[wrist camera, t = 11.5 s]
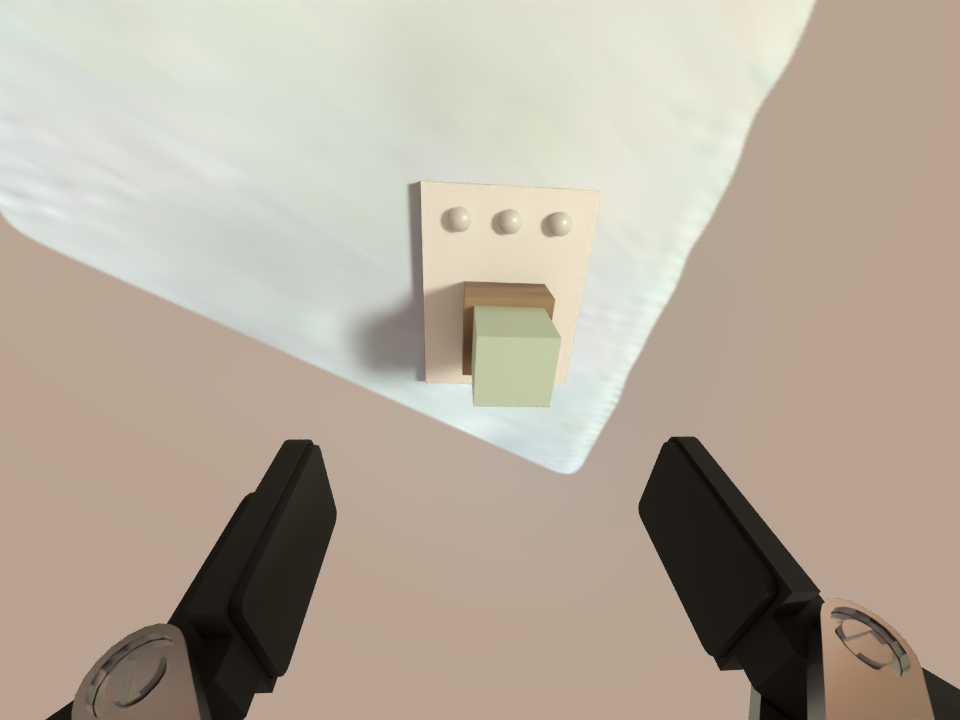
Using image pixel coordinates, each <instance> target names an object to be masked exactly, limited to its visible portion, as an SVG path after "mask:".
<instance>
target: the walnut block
mask: <svg viewBox="0 0 960 720" xmlns="http://www.w3.org/2000/svg"><path fill="white" fill-rule="evenodd" d="M554 305H555V298H554V297H553V295H552V294H551V293H550V291H549V290H548V288H547V287H546V285H545V284H530V283H502V282H474V281H464V307H463V340H462V375H472V371H471V363H472V341H473V318H474V306H499V307H531V308H545V310H546V312H547V313H548V315H549V317H550V319H551V321H552V317H553V311H554Z"/></svg>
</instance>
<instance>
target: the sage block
mask: <svg viewBox="0 0 960 720" xmlns="http://www.w3.org/2000/svg"><path fill="white" fill-rule="evenodd" d="M561 339H562V338H561V336H560V335H559V333H558V331H557V329H556V328H555V326H554V324H553V322H552V321H551V319H550V317H549V315H548V313H547V312H546V310H545V308H531V307H499V306H474V318H473V341H472V363H471V371H472V390H473V406H494V407H550V401H551V395H552V390H553V384H554V379H555V373H556V367H557V362H558V356H559V351H560V345H561Z"/></svg>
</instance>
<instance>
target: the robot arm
mask: <svg viewBox="0 0 960 720" xmlns="http://www.w3.org/2000/svg"><path fill="white" fill-rule="evenodd" d="M638 508H639V515H640V517H641V519H642V522H643V524H644V526H645V528H646V530H647V532H648V534H649V536H650V538H651V540H652V542H653V544H654V546H655V548H656V551H657V553H658V555H659V557H660V559H661V561H662V563H663V565H664V567H665V569H666V571H667V573H668V575H669V577H670V579H671V581H672V584H673V586H674V587H675V590H676V592H677V594H678V596H679V598H680V600H681V602H682V604H683V606H684V609H685V611H686V613H687V615H688V617H689V619H690V621H691V623H692V625H693V627H694V629H695V631H696V633H697V635H698V637H699V640H700V642H701V644H702V646H703V647H704V649H705V651H706V652H707V653H708V654H709V655H710V656H713V657H714V659H715V661H716V663H717V665H718V667H719V669H720V670H721V671H722V670H742V669H744V671H745V673H746V675H747V677H748V679H749V681H750V682H751V695H750V707H749V720H960V690H959V689H958V688H956V687H954V686H953V685H951V684H949V683H948V682H946V681H944V680H942V679H941V678H939V677H937V676H936V675H934V674H932V673H931V672H929V671H927V670H925V669H924V668H922V667H921V665H920V663H919V661H918V658H917V656H916V654H915V653H914V651H913V650H912V648H911V647H910V646H909V644H908V643H907V642H906V640H905V639H904V638H903V637H902V636H901V635H900V634H899V633H898V632H897V631H896V630H895V629H894V628H893V627H892V626H891V625H890V624H888V623H887V622H886V621H885V620H883V619H882V618H881V617H879V616H878V615H876V614H875V613H873V612H872V611H870V610H868V609H867V608H865V607H863V606H861V605H859V604H856V603H854V602H851V601H848V600H843V599H838V598H836V599H829V600H827V601H826V602H824V600H823V599H822V598H821V597H820V595H819V593H820V590H819V589H818V588H817V586H816V585H815V584H814V583H813V581H812V580H811V579H810V578H809V576H808V575H807V574H806V573H805V571H804V570H803V569H802V568H801V567H800V565H799V564H798V563H797V562H796V560H795V559H794V558H793V557H792V555H791V554H790V553H789V552H788V550H787V549H786V548H785V547H784V546H783V544H782V543H781V542H780V541H779V539H778V538H777V537H776V535H775V534H774V533H773V532H772V531H771V529H770V528H769V527H768V526H767V524H766V523H765V522H764V521H763V519H762V518H761V517H760V516H759V514H758V513H757V512H756V511H755V509H754V508H753V507H752V506H751V504H750V503H749V502H748V501H747V500H746V498H745V497H744V496H743V495H742V493H741V492H740V491H739V490H738V488H737V487H736V486H735V485H734V483H733V482H732V481H731V480H730V478H729V477H728V476H727V475H726V473H725V472H724V471H723V470H722V468H721V467H720V466H719V465H718V463H717V462H716V461H715V460H714V459H713V457H712V456H711V455H710V454H709V452H708V451H707V450H706V449H705V447H704V446H703V445H702V444H701V442H700V441H699V440H698V439H697V438H695V437H671V438H670V439H669V440H668V442H665V443H664V444H663V446H662V448H661V451H660V453H659V455H658V458H657V460H656V463H655V465H654V468H653V470H652V473H651V475H650V478H649V480H648V483H647V485H646V487H645V490H644V492H643V495H642V497H641V500H640V502H639V507H638ZM336 513H337V511H336V506H335V503H334V499H333V495H332V491H331V488H330V484H329V480H328V477H327V472H326V469H325V465H324V461H323V457H322V453H321V450H320V447H319V446H318V445H314V444H313V442H312V441H311V440H286V441H285V442H284V443H283V445H282V447H281V448H280V450H279V452H278V453H277V455H276V457H275V458H274V460H273V462H272V464H271V465H270V467H269V469H268V470H267V472H266V474H265V475H264V477H263V479H262V481H261V483H260V484H259V486H258V487H257V489H256V491H255V492H253V493H250V494H248V495H247V496H245V498H244V499H243V500H242V502H241V503H240V505H239V506H238V508H237V509H236V511H235V513H234V514H233V516H232V518H231V520H230V521H229V523H228V525H227V526H226V528H225V529H224V531H223V532H222V534H221V536H220V537H219V539H218V541H217V542H216V544H215V546H214V547H213V549H212V551H211V552H210V554H209V556H208V557H207V559H206V560H205V562H204V564H203V565H202V567H201V569H200V570H199V572H198V574H197V575H196V577H195V579H194V580H193V582H192V583H191V585H190V587H189V588H188V590H187V592H186V593H185V595H184V597H183V598H182V600H181V602H180V603H179V605H178V607H177V608H176V610H175V611H174V613H173V615H172V617H171V618H170V620H169V621H168V623H167V624H160V623H159V624H155V625H151V626H147V627H144V628H142V629H140V630H138V631H136V632H134V633H132V634H130V635H128V636H127V637H125V638H124V639H122V640H121V641H119V642H118V643H117V644H115V645H114V646H112V647H111V648H110V649H109V650H108V651H107V652H106V653H105V654H104V655H103V656H102V657H101V658H100V659H99V660H98V661H97V662H96V663H95V664H94V666H93V667H92V668H91V670H90V671H89V672H88V673H87V675H86V676H85V677H84V679H83V681H82V683H81V685H80V687H79V689H78V691H77V693H76V695H75V698H74V700H73V701H72V702H70V703H69V704H68V705H66V706H65V707H63V708H62V709H61V710H59V711H57V712H56V713H55V714H53V715H52V716H50V717H49V718H47V719H46V720H244V718H245V717H246V716H247V713H248V710H249V707H250V705H251V702H252V699H253V697H254V694H255V693H272V692H273V689H274V686H275V683H276V680H277V677H281V676H283V675H284V674H285V673H286V671H287V669H288V666H289V664H290V660H291V658H292V655H293V651H294V649H295V645H296V642H297V639H298V636H299V633H300V630H301V627H302V624H303V621H304V618H305V615H306V612H307V608H308V606H309V602H310V599H311V596H312V593H313V590H314V587H315V584H316V581H317V578H318V575H319V572H320V569H321V566H322V563H323V560H324V557H325V553H326V550H327V547H328V544H329V541H330V538H331V535H332V532H333V529H334V526H335V522H336V515H337V514H336Z"/></svg>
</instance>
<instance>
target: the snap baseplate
mask: <svg viewBox="0 0 960 720" xmlns="http://www.w3.org/2000/svg"><path fill="white" fill-rule="evenodd" d="M601 197H602V191H599V190H583V189H564V188H545V187H527V186H508V185H490V184H471V183H453V182H434V181H421V216H422V254H423V293H424V331H425V369H426V383H427V384H472V375H462V340H463V307H464V281H474V282H502V283H530V284H545V285H546V287H547V288H548V290H549V291H550V293H551V294H552V295H553V297H554V298H555V305H554V311H553V317H552V322H553V324H554V326H555V328H556V329H557V331H558V333H559V335H560V336H561V338H562V339H561V345H560V351H559V356H558V362H557V367H556V373H555V379H554V384H553V386H564V385H565V380H566V375H567V370H568V365H569V360H570V354H571V349H572V344H573V339H574V334H575V329H576V324H577V319H578V314H579V309H580V304H581V298H582V293H583V288H584V283H585V278H586V273H587V268H588V263H589V258H590V253H591V248H592V242H593V237H594V232H595V227H596V222H597V217H598V212H599V207H600V202H601Z"/></svg>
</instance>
